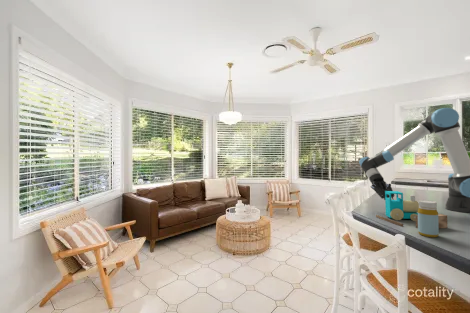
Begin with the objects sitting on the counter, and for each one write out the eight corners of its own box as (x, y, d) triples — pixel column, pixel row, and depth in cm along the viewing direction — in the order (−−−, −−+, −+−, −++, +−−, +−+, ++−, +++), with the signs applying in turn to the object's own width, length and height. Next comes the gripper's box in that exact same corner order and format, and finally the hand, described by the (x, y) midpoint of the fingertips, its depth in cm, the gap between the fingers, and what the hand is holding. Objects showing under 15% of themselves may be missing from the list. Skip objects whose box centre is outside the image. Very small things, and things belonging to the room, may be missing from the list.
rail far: (377, 217, 134) (377, 214, 134) (403, 226, 116) (403, 223, 116) (375, 217, 134) (375, 215, 134) (401, 226, 116) (401, 224, 116)
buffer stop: (438, 225, 117) (438, 213, 117) (447, 227, 112) (447, 215, 112) (412, 226, 115) (412, 214, 115) (421, 229, 111) (420, 216, 111)
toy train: (425, 221, 123) (425, 193, 123) (390, 220, 127) (390, 193, 127) (417, 217, 131) (417, 191, 131) (385, 216, 135) (384, 190, 135)
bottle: (414, 232, 106) (413, 200, 106) (428, 232, 107) (427, 199, 107) (428, 238, 99) (427, 203, 99) (443, 237, 100) (442, 202, 100)
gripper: (381, 179, 155) (401, 210, 138) (362, 180, 153) (381, 211, 137) (386, 172, 149) (409, 203, 133) (368, 173, 148) (388, 204, 132)
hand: (395, 207), depth 135 cm, fingers closed
